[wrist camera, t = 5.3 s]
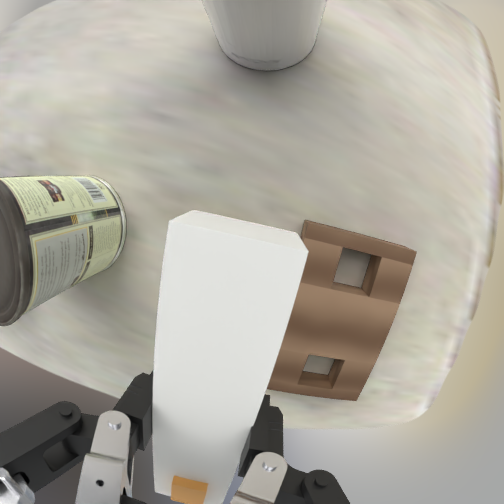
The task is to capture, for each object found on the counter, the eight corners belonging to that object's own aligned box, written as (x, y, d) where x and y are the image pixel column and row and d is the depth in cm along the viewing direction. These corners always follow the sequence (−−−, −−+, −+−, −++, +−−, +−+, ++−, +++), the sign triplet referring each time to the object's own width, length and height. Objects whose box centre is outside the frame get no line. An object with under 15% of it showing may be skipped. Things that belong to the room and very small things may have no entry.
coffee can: (49, 257, 27) (-43, 294, 14) (61, 167, 25) (-42, 167, 11) (119, 287, 27) (28, 352, 14) (137, 186, 25) (28, 190, 11)
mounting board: (304, 219, 25) (308, 222, 22) (404, 246, 24) (416, 252, 22) (262, 373, 28) (261, 387, 26) (351, 386, 28) (356, 400, 25)
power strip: (204, 205, 13) (162, 223, 7) (292, 224, 13) (312, 257, 7) (172, 438, 17) (152, 498, 11) (228, 450, 17) (219, 514, 11)
